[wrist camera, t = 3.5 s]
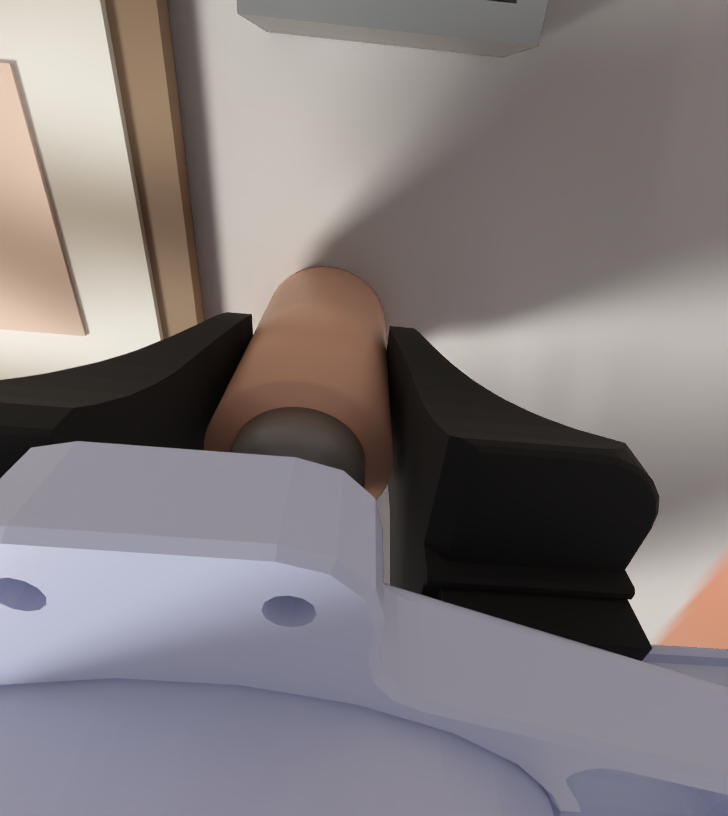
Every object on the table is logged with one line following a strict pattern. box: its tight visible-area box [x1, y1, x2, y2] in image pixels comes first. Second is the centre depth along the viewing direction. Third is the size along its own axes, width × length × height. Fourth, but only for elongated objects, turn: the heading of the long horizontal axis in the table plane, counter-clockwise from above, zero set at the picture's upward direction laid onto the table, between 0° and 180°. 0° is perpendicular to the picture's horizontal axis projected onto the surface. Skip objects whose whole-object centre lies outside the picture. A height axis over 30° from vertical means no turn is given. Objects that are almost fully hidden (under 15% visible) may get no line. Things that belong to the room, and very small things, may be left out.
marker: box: [204, 267, 393, 500], centre depth 10 cm, size 3×3×7 cm
